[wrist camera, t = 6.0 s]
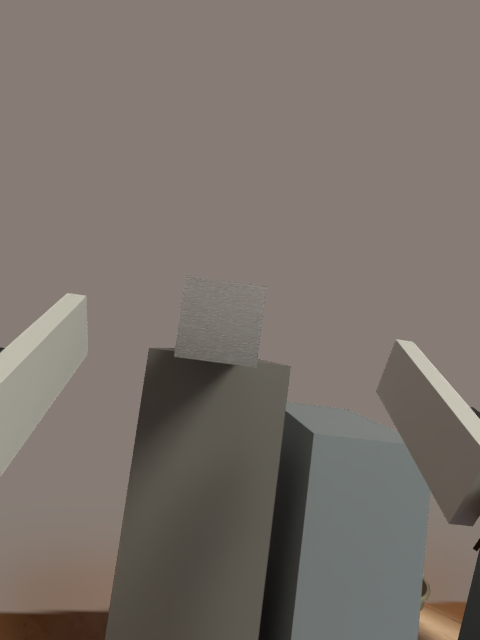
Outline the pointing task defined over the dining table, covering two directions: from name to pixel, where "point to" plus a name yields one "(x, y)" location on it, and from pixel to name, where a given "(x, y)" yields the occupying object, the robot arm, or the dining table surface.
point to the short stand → (344, 531)
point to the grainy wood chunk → (220, 321)
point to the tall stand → (199, 501)
